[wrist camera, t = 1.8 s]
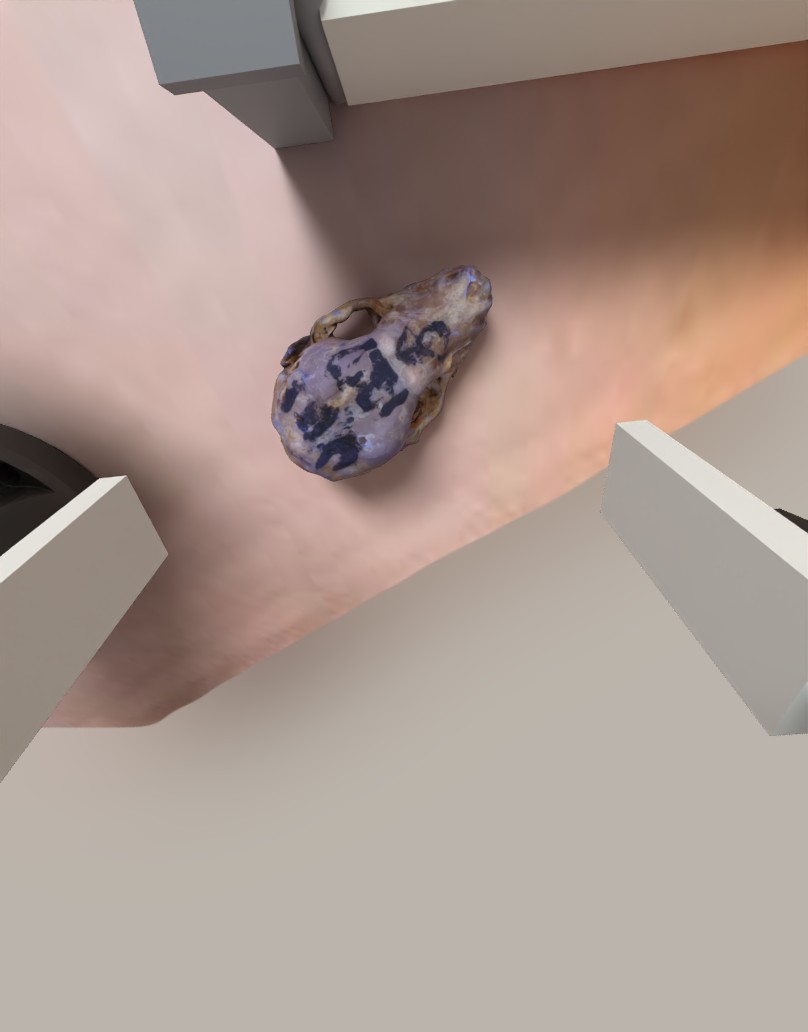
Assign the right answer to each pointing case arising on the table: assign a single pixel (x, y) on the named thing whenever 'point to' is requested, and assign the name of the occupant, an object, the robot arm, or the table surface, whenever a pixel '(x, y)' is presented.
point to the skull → (377, 374)
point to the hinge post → (240, 63)
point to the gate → (520, 39)
